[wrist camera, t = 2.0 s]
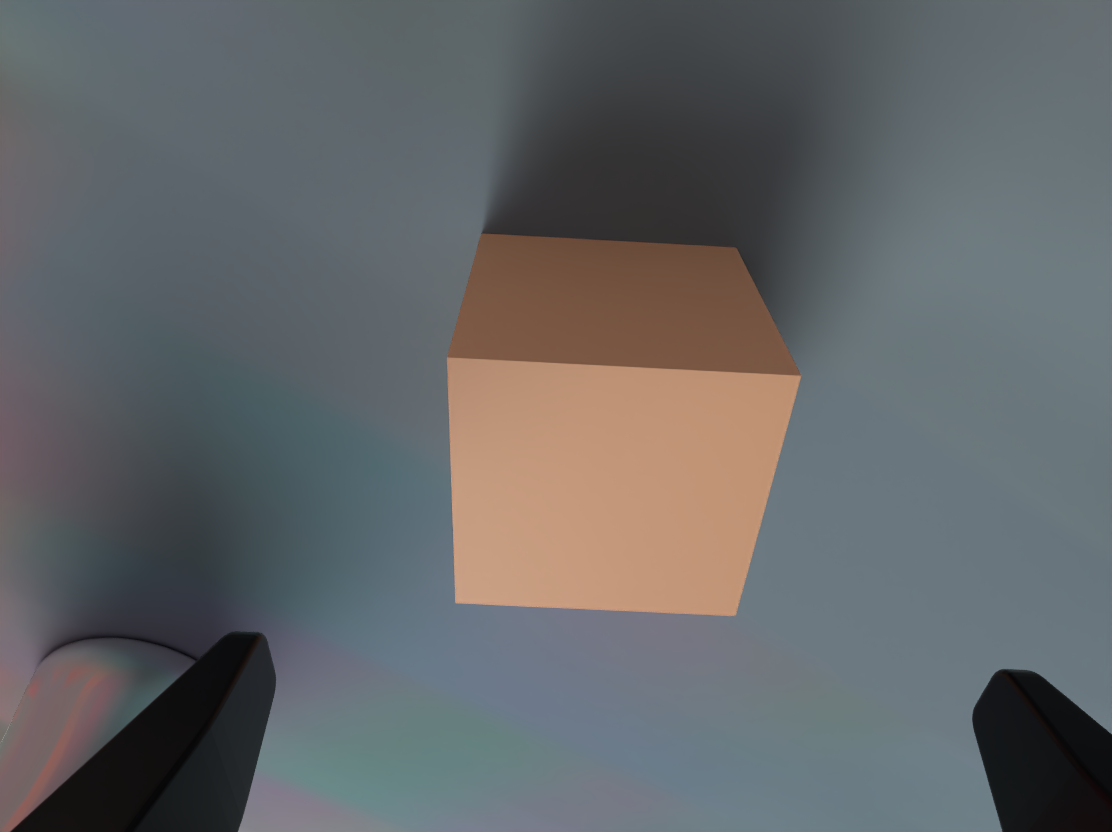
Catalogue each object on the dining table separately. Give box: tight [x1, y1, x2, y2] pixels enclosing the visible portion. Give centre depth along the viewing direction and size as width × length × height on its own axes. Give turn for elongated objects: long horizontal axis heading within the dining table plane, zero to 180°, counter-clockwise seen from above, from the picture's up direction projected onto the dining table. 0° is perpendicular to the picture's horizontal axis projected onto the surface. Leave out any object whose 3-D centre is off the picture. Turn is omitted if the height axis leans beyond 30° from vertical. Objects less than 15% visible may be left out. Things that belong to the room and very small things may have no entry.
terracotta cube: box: [447, 233, 801, 616], centre depth 14 cm, size 5×5×5 cm
